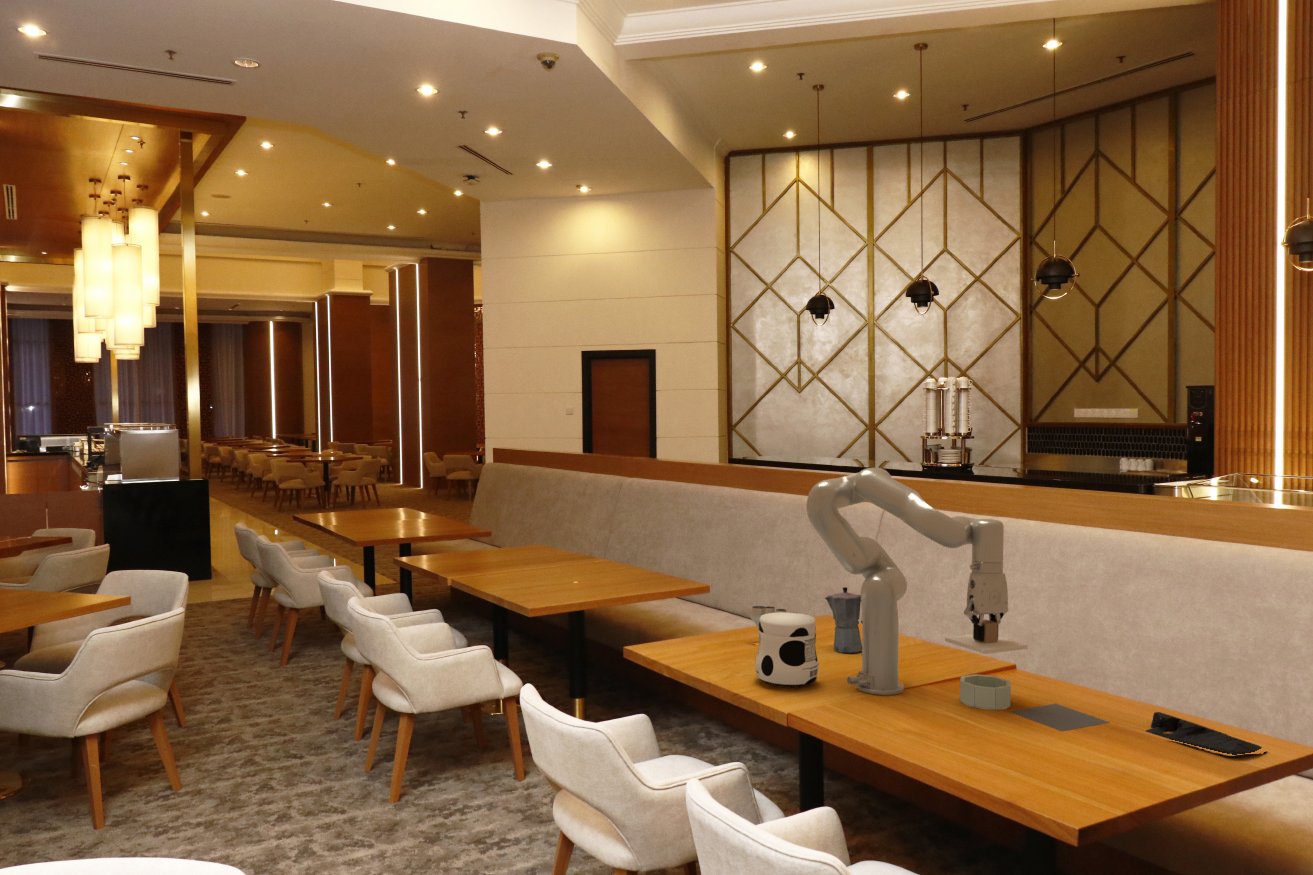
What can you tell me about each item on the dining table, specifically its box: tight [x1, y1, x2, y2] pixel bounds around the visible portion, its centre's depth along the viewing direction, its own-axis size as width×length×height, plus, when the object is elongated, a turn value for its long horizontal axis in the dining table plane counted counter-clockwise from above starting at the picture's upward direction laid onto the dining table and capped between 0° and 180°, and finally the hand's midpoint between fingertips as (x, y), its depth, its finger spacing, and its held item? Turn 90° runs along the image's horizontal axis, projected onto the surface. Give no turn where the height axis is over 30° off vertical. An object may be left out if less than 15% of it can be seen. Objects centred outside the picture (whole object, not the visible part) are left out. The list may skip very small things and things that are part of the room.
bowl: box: [959, 674, 1012, 711], centre depth 235 cm, size 12×12×6 cm
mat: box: [1008, 703, 1111, 732], centre depth 224 cm, size 16×16×1 cm
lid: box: [944, 619, 1028, 655], centre depth 235 cm, size 14×14×6 cm
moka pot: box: [824, 586, 862, 654], centre depth 290 cm, size 10×15×20 cm, turn 82°
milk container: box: [755, 611, 820, 688], centre depth 254 cm, size 17×17×18 cm
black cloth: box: [1144, 711, 1262, 755], centre depth 209 cm, size 15×22×5 cm
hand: (985, 638), depth 235 cm, fingers closed on lid, 4 cm apart
